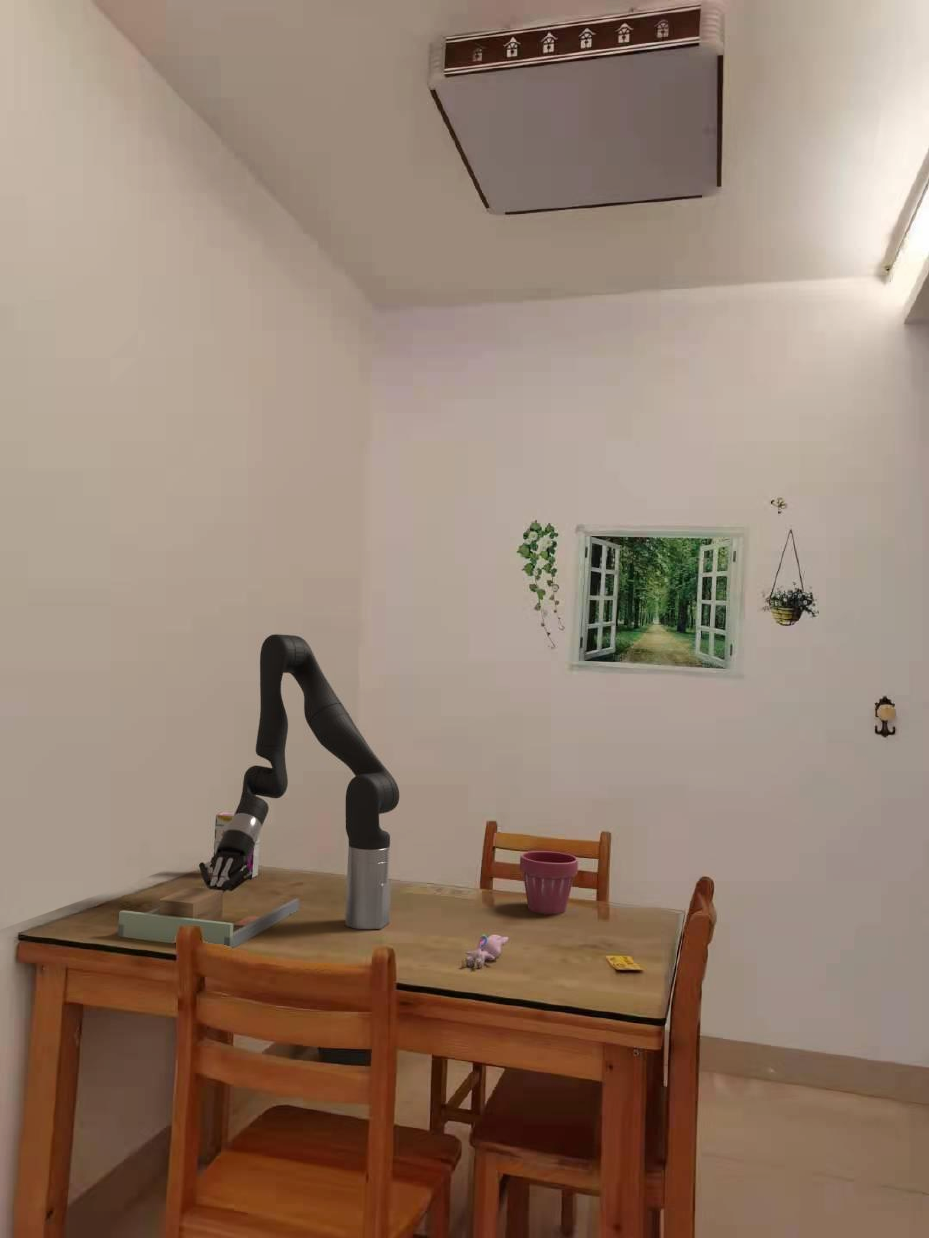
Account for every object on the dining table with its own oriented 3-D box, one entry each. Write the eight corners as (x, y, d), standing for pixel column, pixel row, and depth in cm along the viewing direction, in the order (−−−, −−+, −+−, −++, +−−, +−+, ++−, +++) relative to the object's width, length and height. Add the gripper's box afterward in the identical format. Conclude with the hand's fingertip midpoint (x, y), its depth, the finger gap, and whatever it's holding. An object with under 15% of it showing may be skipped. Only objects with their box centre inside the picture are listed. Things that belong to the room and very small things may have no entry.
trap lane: (298, 910, 218) (299, 888, 218) (229, 950, 186) (230, 924, 187) (201, 899, 224) (202, 878, 225) (117, 936, 193) (119, 911, 193)
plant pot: (586, 915, 223) (588, 861, 224) (532, 918, 219) (534, 863, 219) (560, 900, 237) (562, 849, 238) (509, 903, 232) (511, 851, 233)
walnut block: (221, 928, 202) (223, 890, 202) (191, 943, 190) (193, 903, 191) (188, 924, 204) (190, 886, 204) (156, 938, 192) (158, 899, 193)
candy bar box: (211, 877, 248) (214, 814, 249) (218, 873, 253) (221, 811, 254) (252, 879, 247) (255, 816, 248) (258, 875, 252) (261, 813, 252)
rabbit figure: (483, 979, 179) (517, 948, 192) (482, 949, 178) (516, 919, 191) (455, 973, 182) (490, 942, 195) (453, 943, 181) (489, 914, 194)
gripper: (208, 825, 215) (176, 891, 203) (261, 830, 212) (232, 897, 199) (219, 845, 220) (188, 910, 208) (270, 850, 217) (242, 917, 204)
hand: (210, 904), depth 204 cm, fingers closed
